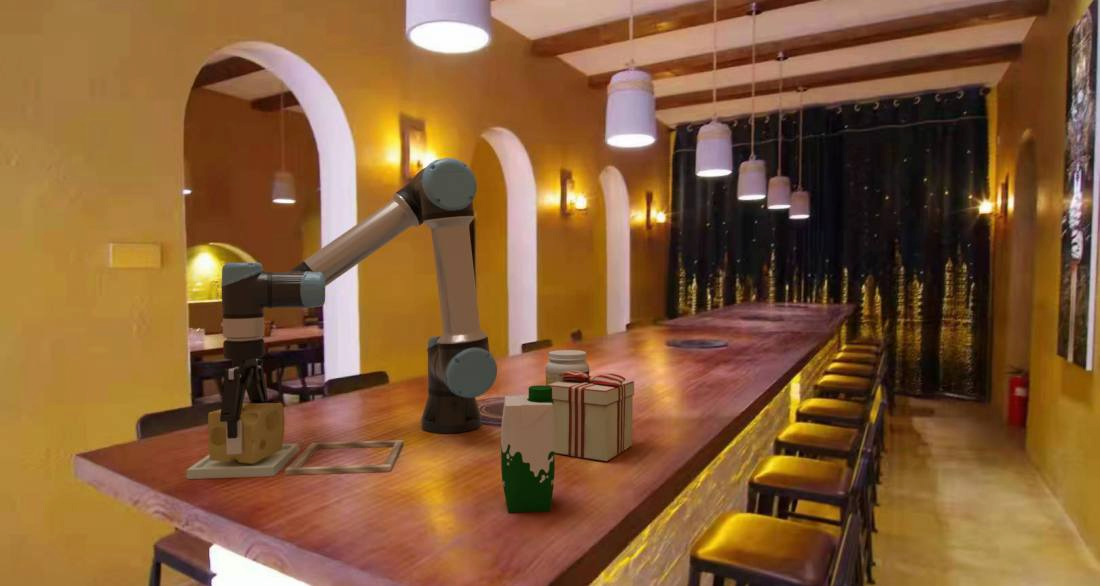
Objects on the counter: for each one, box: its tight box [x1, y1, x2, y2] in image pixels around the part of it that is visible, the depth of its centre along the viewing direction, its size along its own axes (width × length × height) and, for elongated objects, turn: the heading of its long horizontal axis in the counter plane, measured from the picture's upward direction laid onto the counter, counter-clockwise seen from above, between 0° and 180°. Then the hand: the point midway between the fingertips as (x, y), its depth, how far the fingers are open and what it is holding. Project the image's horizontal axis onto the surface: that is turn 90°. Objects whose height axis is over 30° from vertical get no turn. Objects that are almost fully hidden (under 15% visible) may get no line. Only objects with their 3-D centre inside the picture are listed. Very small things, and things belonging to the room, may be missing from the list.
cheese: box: [207, 402, 286, 464], centre depth 128 cm, size 10×11×10 cm
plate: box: [186, 443, 300, 480], centre depth 128 cm, size 16×16×2 cm
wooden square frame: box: [284, 439, 404, 476], centre depth 132 cm, size 20×19×1 cm
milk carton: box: [500, 384, 556, 514], centre depth 106 cm, size 9×9×20 cm
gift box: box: [545, 370, 635, 462], centre depth 140 cm, size 17×18×17 cm
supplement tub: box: [545, 349, 590, 386], centre depth 172 cm, size 12×12×17 cm
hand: (246, 445), depth 128 cm, fingers closed on cheese, 11 cm apart
